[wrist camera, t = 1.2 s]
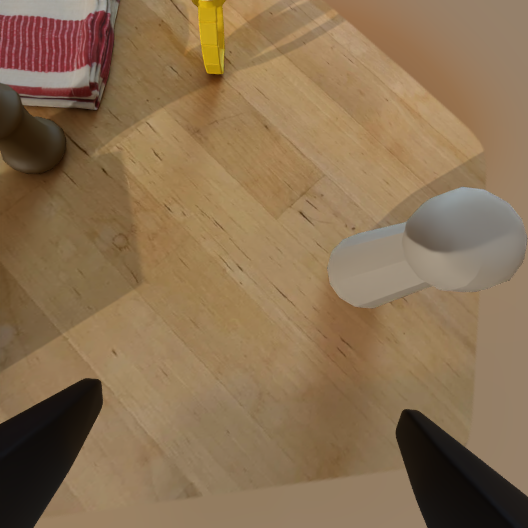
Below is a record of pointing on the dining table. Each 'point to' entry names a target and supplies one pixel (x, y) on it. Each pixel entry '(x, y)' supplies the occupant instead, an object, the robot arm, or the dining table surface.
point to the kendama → (27, 136)
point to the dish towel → (57, 50)
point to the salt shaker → (432, 250)
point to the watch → (211, 34)
